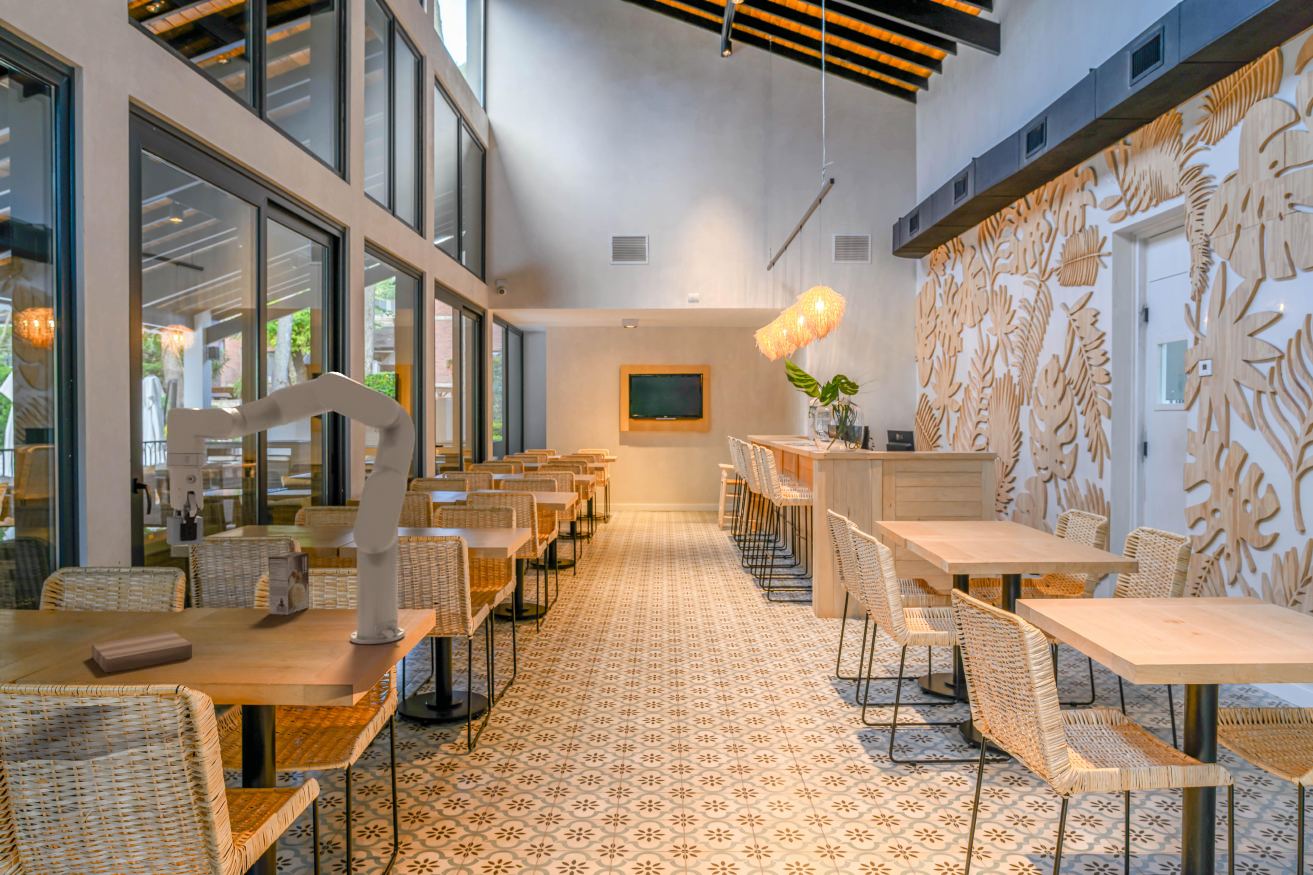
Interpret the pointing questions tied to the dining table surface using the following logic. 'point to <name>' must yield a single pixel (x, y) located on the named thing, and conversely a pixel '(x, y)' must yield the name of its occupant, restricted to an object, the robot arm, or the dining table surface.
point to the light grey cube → (174, 531)
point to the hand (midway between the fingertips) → (184, 538)
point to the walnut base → (141, 651)
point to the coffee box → (288, 583)
